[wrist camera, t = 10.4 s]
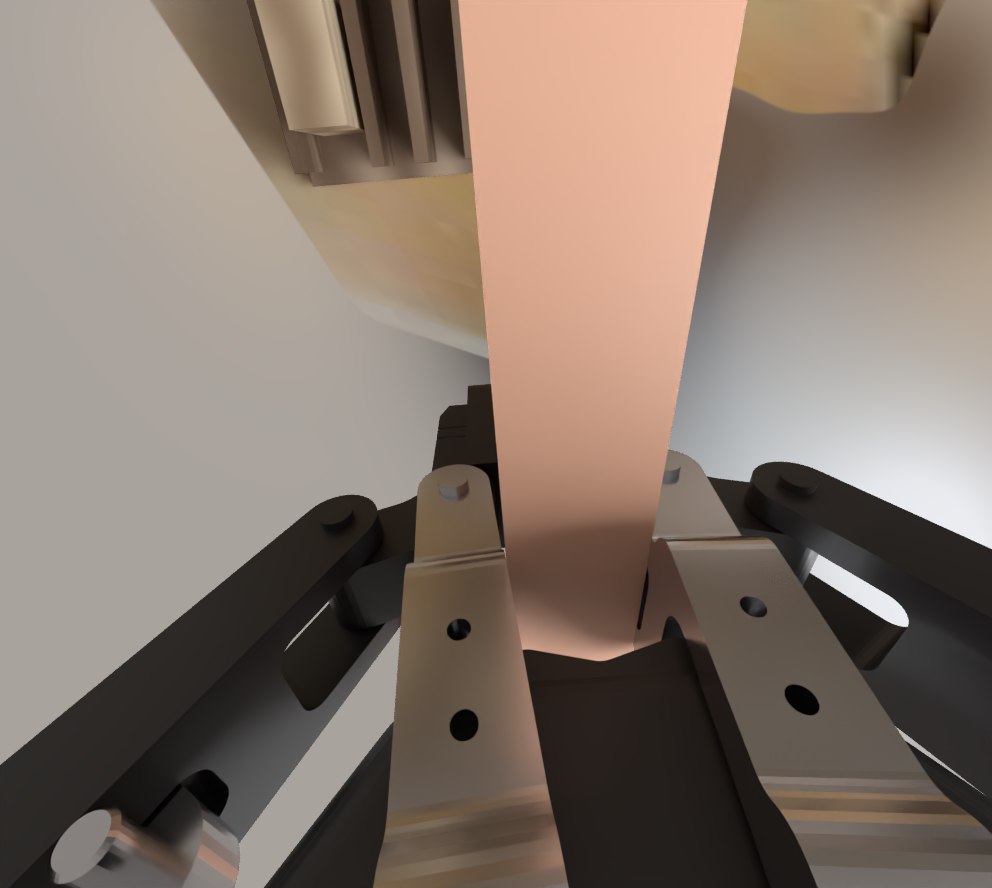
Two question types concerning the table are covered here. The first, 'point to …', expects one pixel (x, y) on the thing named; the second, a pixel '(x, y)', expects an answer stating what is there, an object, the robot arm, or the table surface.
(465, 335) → the table surface
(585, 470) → the terracotta board
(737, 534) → the robot arm
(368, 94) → the walnut rack
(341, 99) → the offcut stack
